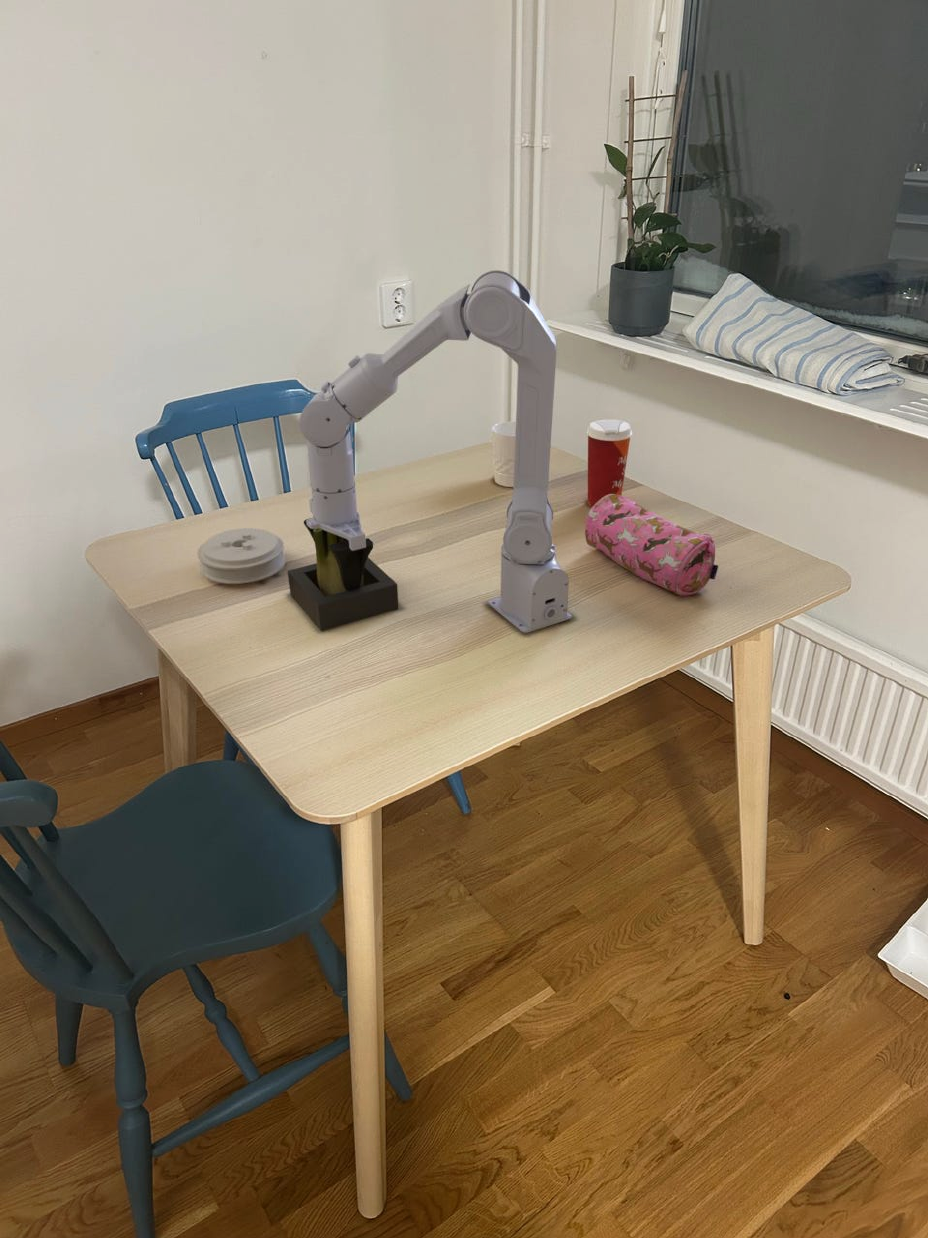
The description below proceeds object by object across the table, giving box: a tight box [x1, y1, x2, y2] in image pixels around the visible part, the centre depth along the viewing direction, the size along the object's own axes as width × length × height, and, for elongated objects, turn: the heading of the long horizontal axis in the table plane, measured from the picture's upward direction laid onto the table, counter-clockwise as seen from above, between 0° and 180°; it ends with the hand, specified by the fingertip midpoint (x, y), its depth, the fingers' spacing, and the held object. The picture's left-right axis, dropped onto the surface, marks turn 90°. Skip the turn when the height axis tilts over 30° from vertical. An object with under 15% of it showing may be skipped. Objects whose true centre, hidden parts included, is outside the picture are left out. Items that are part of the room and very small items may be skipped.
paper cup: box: [585, 418, 633, 508], centre depth 151 cm, size 8×8×14 cm
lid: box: [196, 527, 287, 585], centre depth 133 cm, size 13×13×5 cm
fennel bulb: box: [313, 528, 364, 597], centre depth 123 cm, size 6×5×12 cm
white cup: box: [491, 420, 516, 488], centre depth 162 cm, size 8×8×10 cm
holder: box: [287, 557, 399, 632], centre depth 125 cm, size 12×12×4 cm
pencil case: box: [584, 494, 719, 597], centre depth 131 cm, size 21×9×9 cm, turn 34°
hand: (341, 576), depth 124 cm, fingers open, 7 cm apart
